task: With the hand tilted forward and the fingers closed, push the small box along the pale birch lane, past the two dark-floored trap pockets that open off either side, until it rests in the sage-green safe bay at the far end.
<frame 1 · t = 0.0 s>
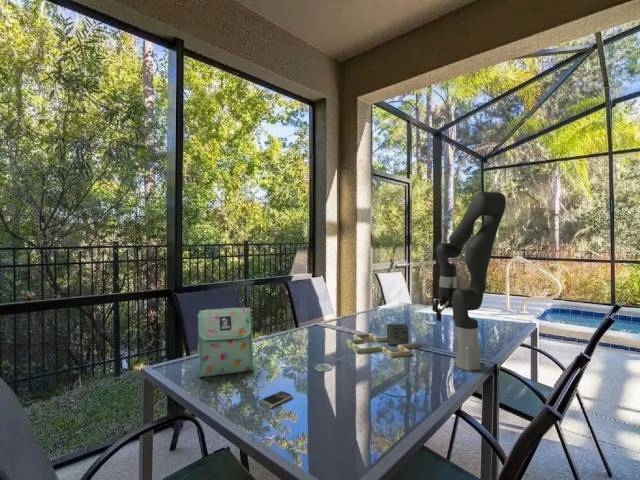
hand: (447, 320, 161), 17 cm above the table, tool pointing down, fingers open, 8 cm apart
trap course: (380, 345, 180), on the table
cell phone: (276, 402, 118), on the table
lunch bag: (226, 370, 149), on the table
small box: (397, 344, 183), on the table
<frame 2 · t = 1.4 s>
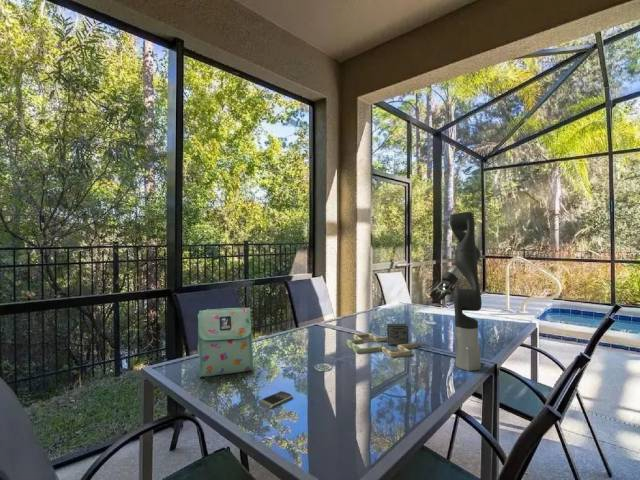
hand: (435, 298, 187), 23 cm above the table, tool tilted 45°, fingers open, 8 cm apart
nothing on the table moved.
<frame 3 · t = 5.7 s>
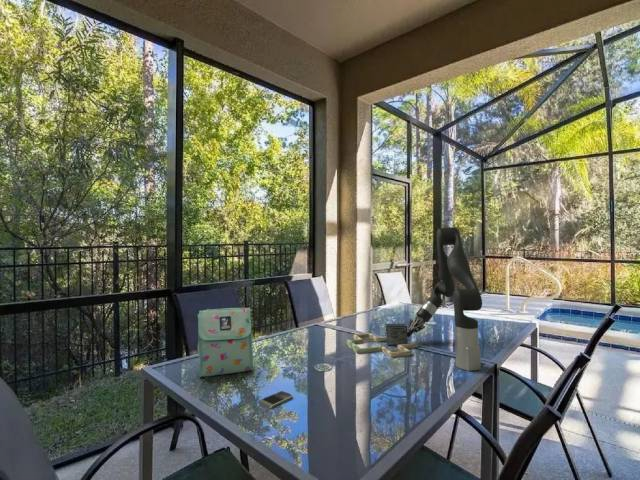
hand: (407, 336, 185), 4 cm above the table, tool tilted 45°, fingers closed
small box: (396, 344, 183), on the table, touching gripper
everything else where it was.
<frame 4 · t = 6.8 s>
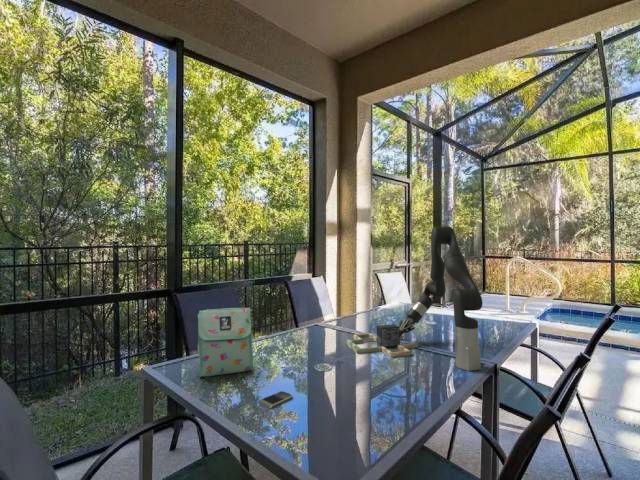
hand: (396, 336, 183), 4 cm above the table, tool tilted 45°, fingers closed
small box: (388, 346, 180), on the table, touching gripper
everything else where it was.
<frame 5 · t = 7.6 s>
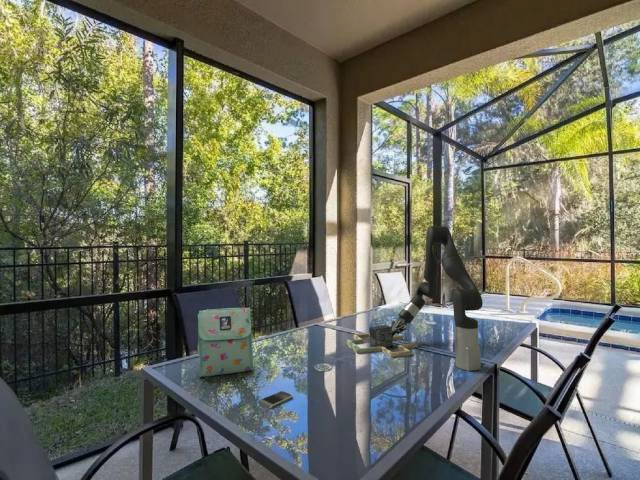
hand: (388, 337, 182), 4 cm above the table, tool tilted 45°, fingers closed
small box: (381, 347, 178), on the table, touching gripper
everything else where it was.
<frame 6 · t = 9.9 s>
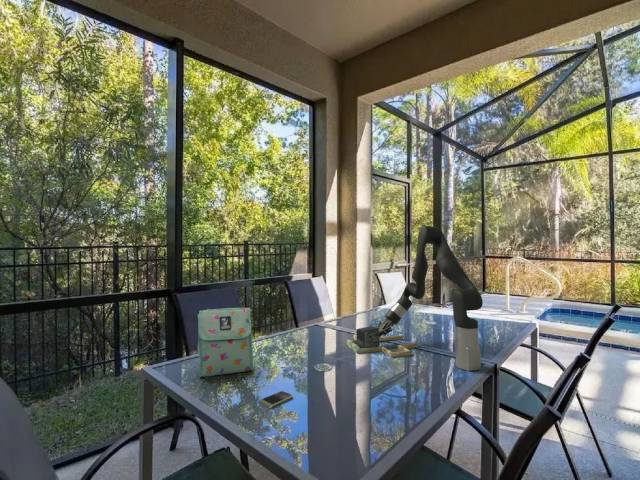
hand: (375, 338, 180), 4 cm above the table, tool tilted 45°, fingers closed
small box: (368, 349, 176), on the table, touching gripper
everything else where it was.
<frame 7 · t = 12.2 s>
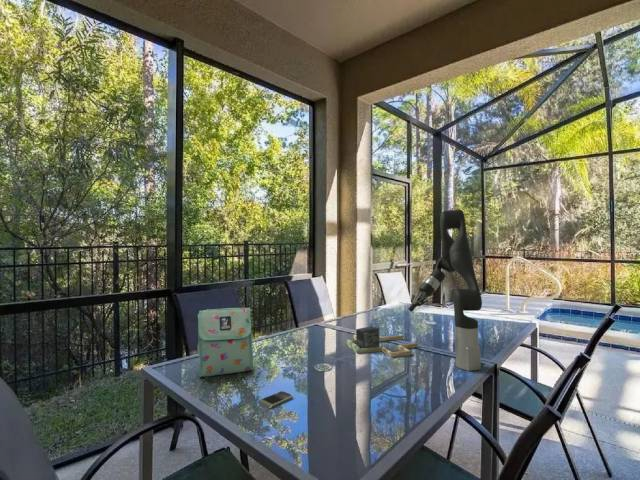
hand: (409, 310, 183), 18 cm above the table, tool tilted 45°, fingers closed
small box: (368, 349, 176), on the table
everything else where it was.
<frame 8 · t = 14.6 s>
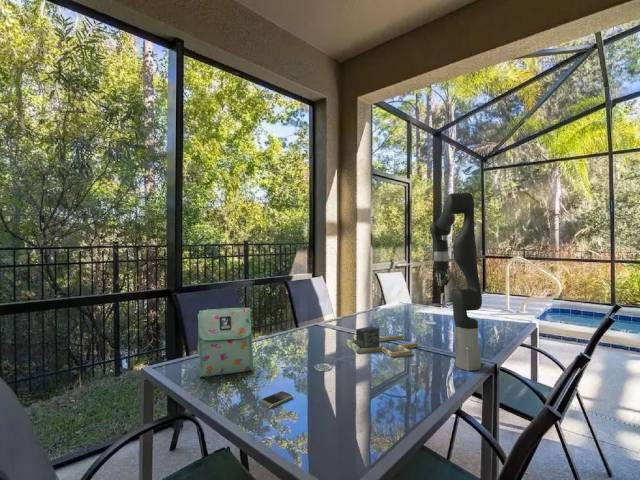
hand: (441, 293, 181), 27 cm above the table, tool pointing down, fingers closed
nothing on the table moved.
at the end: small box inside the target area (3.3 cm from its centre), on the table; small box tilted 0°; small box moved 18.3 cm from its start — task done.
